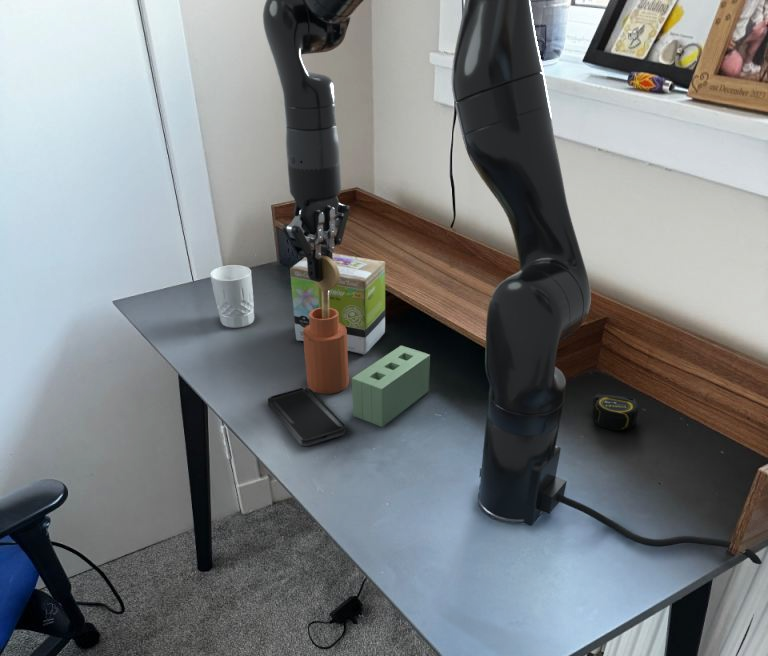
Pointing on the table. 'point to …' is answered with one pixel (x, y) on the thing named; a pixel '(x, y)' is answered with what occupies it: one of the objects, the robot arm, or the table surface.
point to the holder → (390, 385)
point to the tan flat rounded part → (327, 282)
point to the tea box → (345, 299)
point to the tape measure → (615, 411)
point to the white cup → (233, 295)
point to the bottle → (326, 353)
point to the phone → (306, 416)
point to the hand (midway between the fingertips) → (321, 277)
